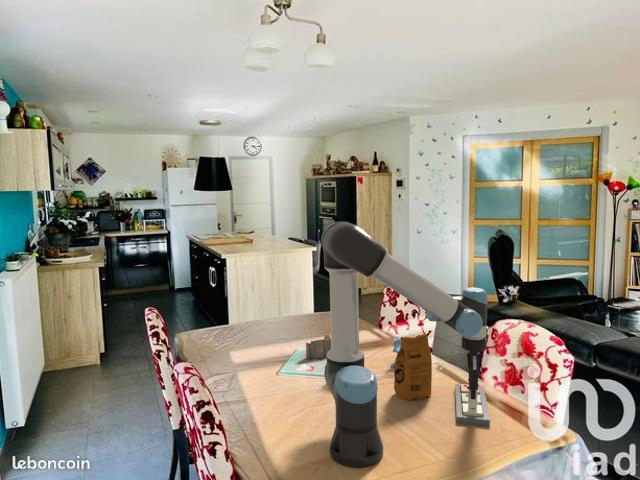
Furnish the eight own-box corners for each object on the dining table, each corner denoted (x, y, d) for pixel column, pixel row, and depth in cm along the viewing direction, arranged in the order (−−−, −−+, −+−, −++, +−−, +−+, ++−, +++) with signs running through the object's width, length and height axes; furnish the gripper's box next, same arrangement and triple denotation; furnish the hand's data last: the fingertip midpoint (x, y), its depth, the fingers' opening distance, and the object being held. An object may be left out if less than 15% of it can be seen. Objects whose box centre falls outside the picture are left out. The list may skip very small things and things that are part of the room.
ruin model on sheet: (329, 354, 218) (328, 333, 217) (331, 356, 215) (331, 335, 214) (305, 358, 213) (305, 337, 212) (308, 360, 210) (308, 339, 209)
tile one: (482, 420, 153) (482, 412, 153) (463, 418, 155) (463, 410, 154) (481, 412, 159) (481, 404, 158) (462, 410, 160) (462, 402, 160)
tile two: (480, 409, 161) (481, 401, 160) (462, 407, 162) (462, 400, 162) (479, 401, 166) (479, 394, 166) (461, 400, 168) (461, 392, 168)
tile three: (479, 399, 168) (479, 391, 168) (461, 397, 170) (461, 390, 170) (478, 392, 174) (478, 384, 174) (460, 390, 176) (460, 383, 175)
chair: (413, 363, 205) (414, 335, 204) (408, 369, 197) (409, 341, 196) (396, 360, 208) (396, 333, 207) (390, 367, 200) (390, 339, 199)
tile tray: (489, 426, 151) (489, 420, 150) (456, 422, 153) (456, 416, 153) (483, 391, 176) (483, 386, 175) (455, 389, 178) (455, 383, 178)
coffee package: (390, 391, 177) (390, 333, 174) (420, 386, 181) (420, 329, 178) (404, 403, 167) (404, 341, 165) (434, 397, 172) (435, 337, 169)
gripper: (488, 343, 146) (486, 417, 149) (484, 331, 159) (483, 399, 162) (462, 342, 148) (461, 415, 151) (461, 329, 161) (459, 397, 164)
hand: (472, 406), depth 156 cm, fingers closed
